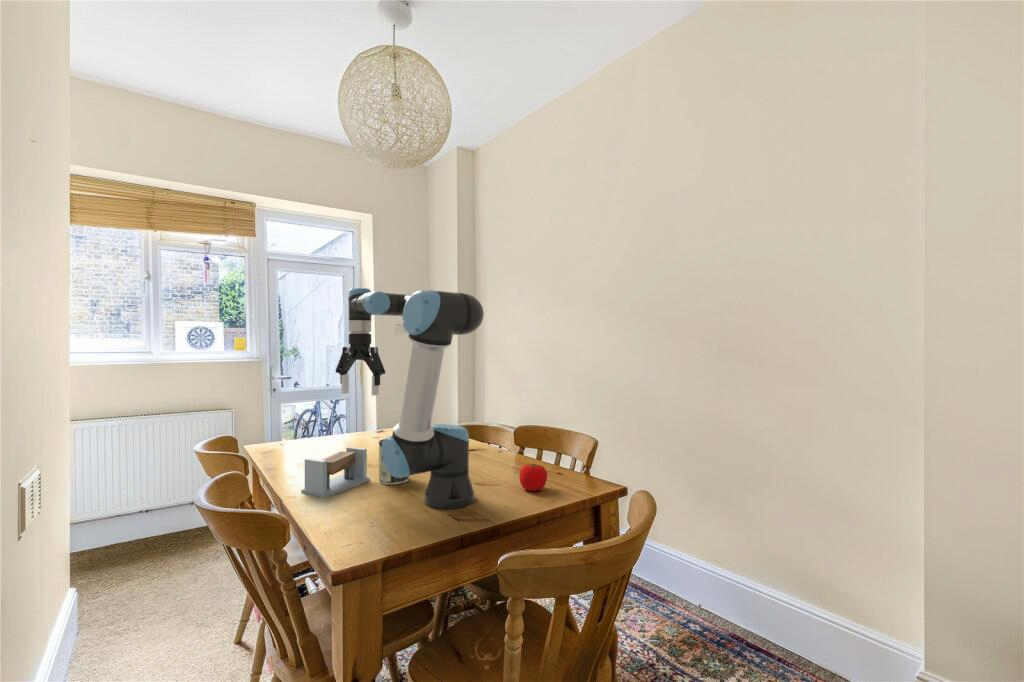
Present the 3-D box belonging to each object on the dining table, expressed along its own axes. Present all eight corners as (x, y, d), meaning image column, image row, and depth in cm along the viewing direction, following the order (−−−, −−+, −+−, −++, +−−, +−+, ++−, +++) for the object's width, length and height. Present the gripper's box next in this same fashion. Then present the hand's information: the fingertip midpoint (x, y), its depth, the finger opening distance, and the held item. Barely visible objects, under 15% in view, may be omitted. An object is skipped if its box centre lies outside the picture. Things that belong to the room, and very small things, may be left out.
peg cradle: (370, 480, 163) (370, 449, 163) (326, 497, 145) (326, 462, 145) (346, 476, 168) (346, 446, 167) (301, 492, 150) (301, 458, 150)
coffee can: (411, 476, 168) (411, 437, 168) (404, 485, 158) (404, 443, 158) (383, 476, 168) (383, 437, 168) (374, 484, 158) (374, 443, 158)
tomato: (532, 496, 147) (532, 469, 147) (512, 488, 155) (512, 463, 155) (553, 490, 153) (553, 464, 153) (532, 482, 161) (532, 458, 161)
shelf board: (355, 463, 163) (355, 452, 163) (332, 474, 149) (332, 462, 149) (340, 462, 164) (340, 451, 164) (317, 473, 150) (317, 461, 150)
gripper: (395, 332, 159) (395, 394, 159) (341, 333, 169) (341, 391, 169) (380, 332, 152) (380, 397, 152) (325, 333, 162) (325, 393, 162)
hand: (359, 394), depth 160 cm, fingers open, 13 cm apart
